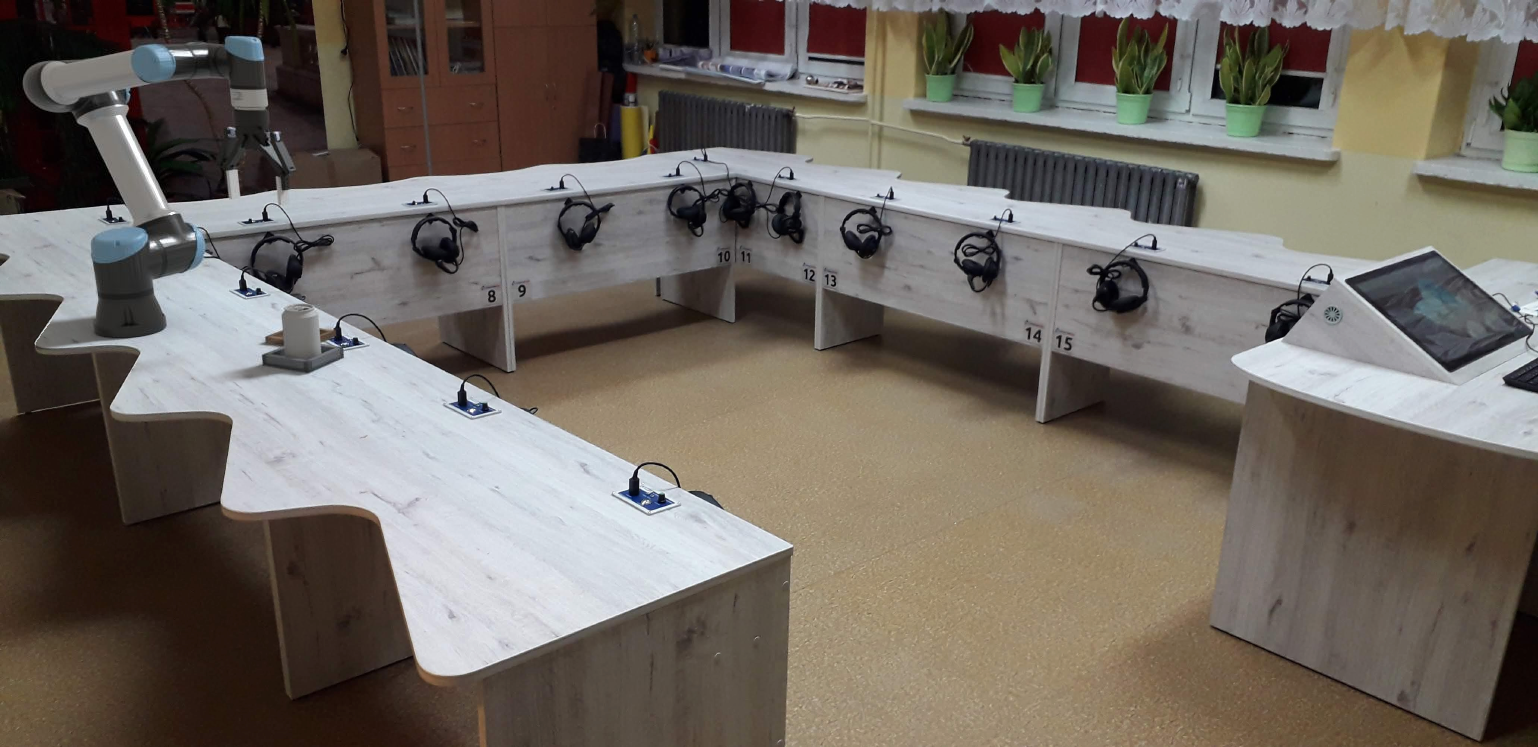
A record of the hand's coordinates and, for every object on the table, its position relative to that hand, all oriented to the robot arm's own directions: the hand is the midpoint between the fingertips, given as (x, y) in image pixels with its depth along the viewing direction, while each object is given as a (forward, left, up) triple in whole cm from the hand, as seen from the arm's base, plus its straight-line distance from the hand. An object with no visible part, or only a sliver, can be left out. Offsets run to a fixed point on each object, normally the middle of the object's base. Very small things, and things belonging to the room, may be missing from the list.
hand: (259, 201), depth 259 cm
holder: (+10, -2, -32) cm, 33 cm away
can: (+21, -15, -31) cm, 40 cm away
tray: (+21, -15, -32) cm, 41 cm away
